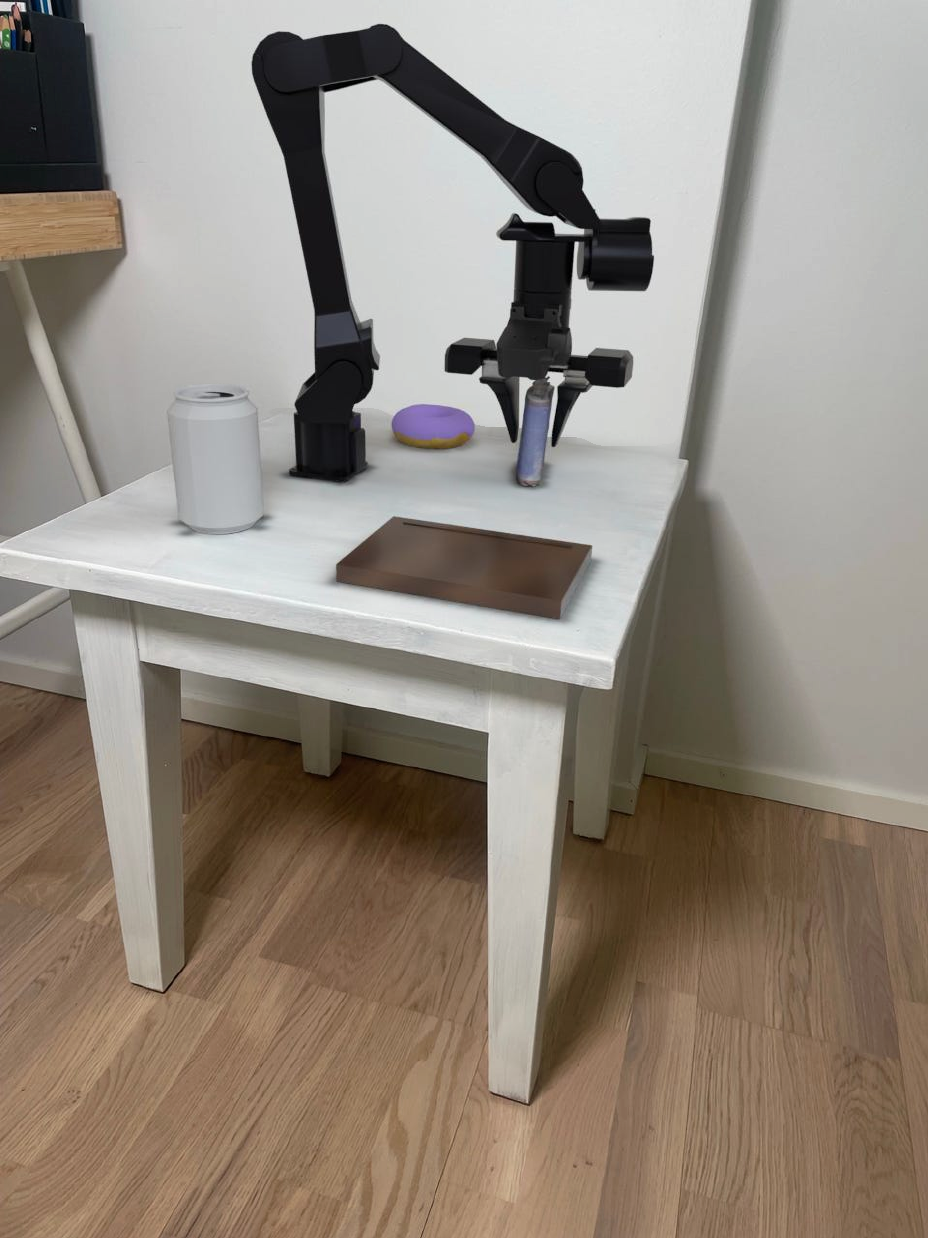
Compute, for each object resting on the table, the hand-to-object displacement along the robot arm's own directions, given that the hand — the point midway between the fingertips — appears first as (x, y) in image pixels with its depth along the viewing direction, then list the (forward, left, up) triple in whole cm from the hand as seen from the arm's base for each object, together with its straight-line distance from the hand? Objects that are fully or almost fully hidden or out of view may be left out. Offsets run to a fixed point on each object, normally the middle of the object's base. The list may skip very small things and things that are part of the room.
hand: (533, 444), depth 98 cm
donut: (-14, +8, -4) cm, 17 cm away
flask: (0, 0, -4) cm, 4 cm away
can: (-22, -26, -4) cm, 34 cm away
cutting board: (+2, -28, -3) cm, 28 cm away
